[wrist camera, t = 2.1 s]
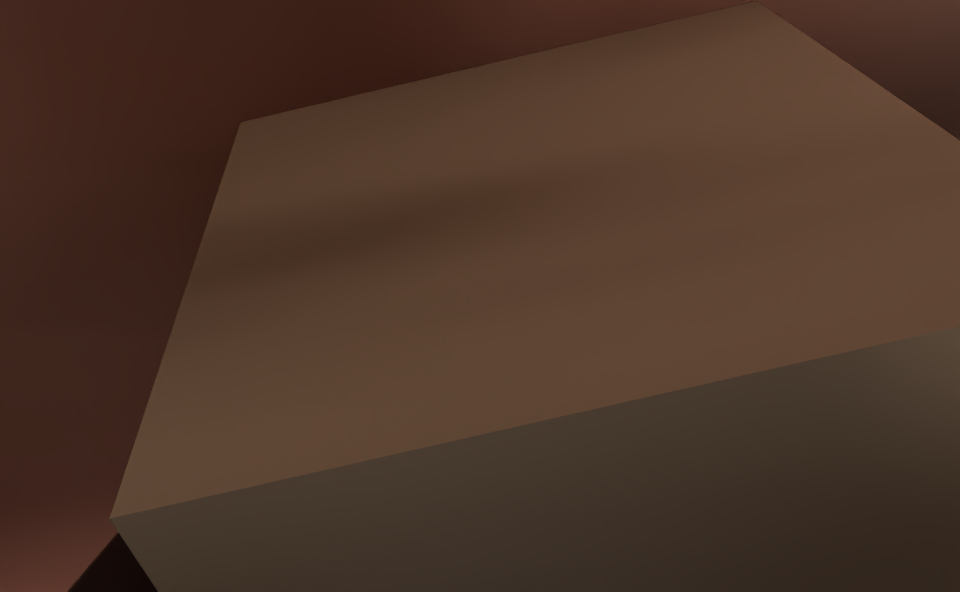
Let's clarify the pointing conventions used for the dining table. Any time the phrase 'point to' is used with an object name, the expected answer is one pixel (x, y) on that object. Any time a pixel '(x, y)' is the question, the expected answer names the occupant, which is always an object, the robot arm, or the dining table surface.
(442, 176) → the walnut block
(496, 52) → the dining table surface
